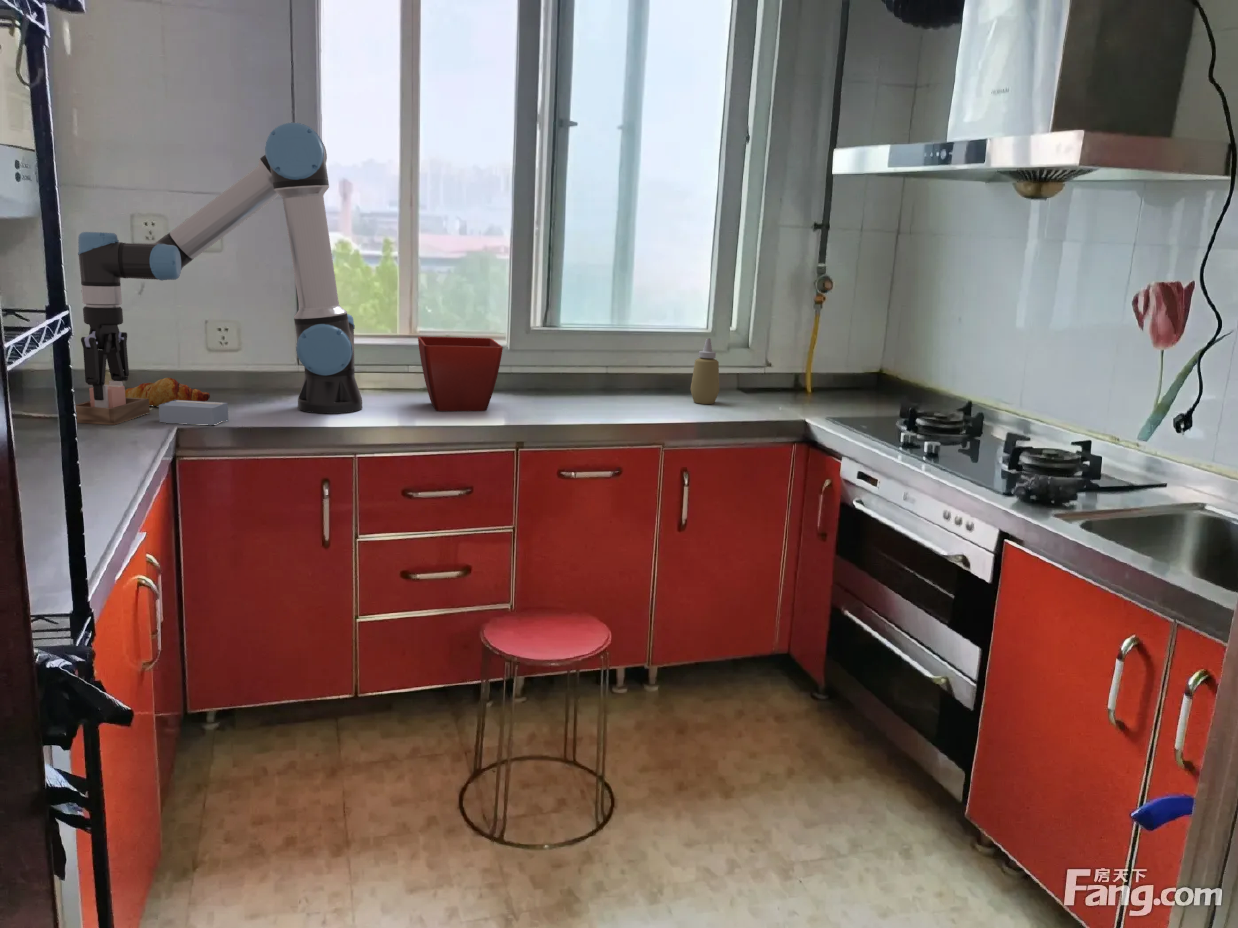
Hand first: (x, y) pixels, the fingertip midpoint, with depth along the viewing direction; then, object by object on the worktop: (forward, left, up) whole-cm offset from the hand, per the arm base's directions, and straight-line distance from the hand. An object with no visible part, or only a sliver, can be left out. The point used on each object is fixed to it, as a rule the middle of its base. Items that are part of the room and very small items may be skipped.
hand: (110, 412), depth 213 cm
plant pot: (-69, -38, -2) cm, 79 cm away
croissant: (-2, -19, -2) cm, 20 cm away
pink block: (0, 0, 0) cm, 1 cm away
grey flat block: (-19, -1, -1) cm, 19 cm away
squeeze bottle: (-132, -67, -1) cm, 148 cm away
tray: (0, 0, -1) cm, 1 cm away
